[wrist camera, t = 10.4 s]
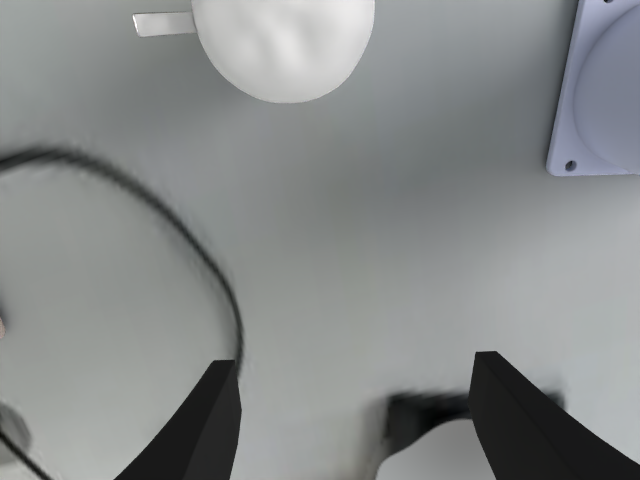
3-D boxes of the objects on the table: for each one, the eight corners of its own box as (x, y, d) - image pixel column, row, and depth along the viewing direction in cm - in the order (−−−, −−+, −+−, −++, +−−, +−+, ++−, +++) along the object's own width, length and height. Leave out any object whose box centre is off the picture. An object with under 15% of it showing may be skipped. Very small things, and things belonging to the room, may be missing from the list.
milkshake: (209, -35, 17) (96, -109, 8) (343, -55, 17) (380, -152, 8) (233, 85, 19) (163, 132, 10) (353, 69, 19) (392, 102, 10)
